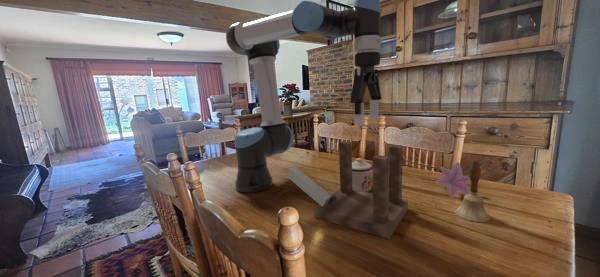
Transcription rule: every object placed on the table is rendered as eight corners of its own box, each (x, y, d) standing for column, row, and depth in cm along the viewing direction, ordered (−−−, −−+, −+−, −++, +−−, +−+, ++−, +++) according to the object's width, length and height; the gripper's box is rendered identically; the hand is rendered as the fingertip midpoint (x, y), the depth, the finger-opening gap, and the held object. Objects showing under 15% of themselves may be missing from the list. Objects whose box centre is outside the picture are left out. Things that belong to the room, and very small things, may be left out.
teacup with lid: (365, 195, 88) (365, 163, 86) (342, 190, 94) (341, 160, 92) (379, 184, 97) (379, 155, 95) (357, 180, 103) (356, 152, 101)
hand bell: (491, 225, 66) (497, 166, 63) (454, 218, 70) (457, 163, 67) (489, 211, 73) (493, 158, 70) (455, 206, 77) (458, 155, 74)
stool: (314, 217, 75) (311, 152, 72) (342, 195, 90) (340, 140, 86) (389, 239, 63) (389, 161, 59) (407, 209, 77) (408, 145, 73)
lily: (428, 198, 86) (441, 179, 80) (428, 175, 95) (439, 156, 89) (466, 211, 83) (482, 192, 77) (462, 186, 92) (476, 167, 86)
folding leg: (322, 206, 74) (285, 175, 81) (327, 202, 77) (291, 172, 83) (326, 199, 73) (288, 168, 79) (331, 195, 75) (294, 165, 82)
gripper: (364, 46, 64) (364, 128, 69) (391, 54, 84) (390, 117, 89) (337, 50, 69) (339, 127, 73) (369, 56, 89) (369, 117, 93)
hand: (367, 122), depth 81 cm, fingers open, 13 cm apart
